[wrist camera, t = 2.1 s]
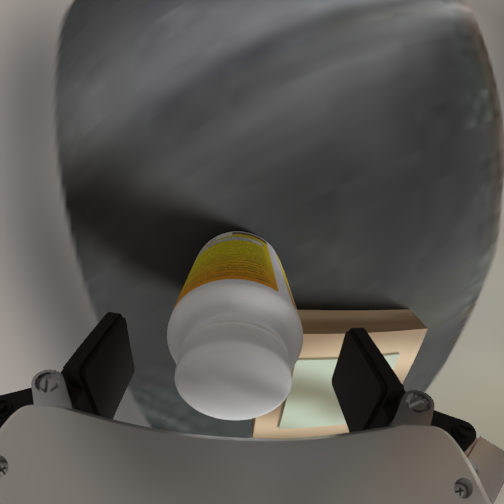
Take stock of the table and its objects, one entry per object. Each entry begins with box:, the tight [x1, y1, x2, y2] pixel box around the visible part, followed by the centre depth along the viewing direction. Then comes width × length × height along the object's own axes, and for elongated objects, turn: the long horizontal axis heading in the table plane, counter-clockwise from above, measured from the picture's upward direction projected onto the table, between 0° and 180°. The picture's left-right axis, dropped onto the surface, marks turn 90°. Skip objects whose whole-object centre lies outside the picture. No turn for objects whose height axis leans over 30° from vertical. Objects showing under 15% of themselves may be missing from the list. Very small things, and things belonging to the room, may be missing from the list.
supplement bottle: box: [167, 231, 303, 420], centre depth 13 cm, size 6×6×10 cm
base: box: [252, 309, 428, 438], centre depth 19 cm, size 12×12×3 cm
